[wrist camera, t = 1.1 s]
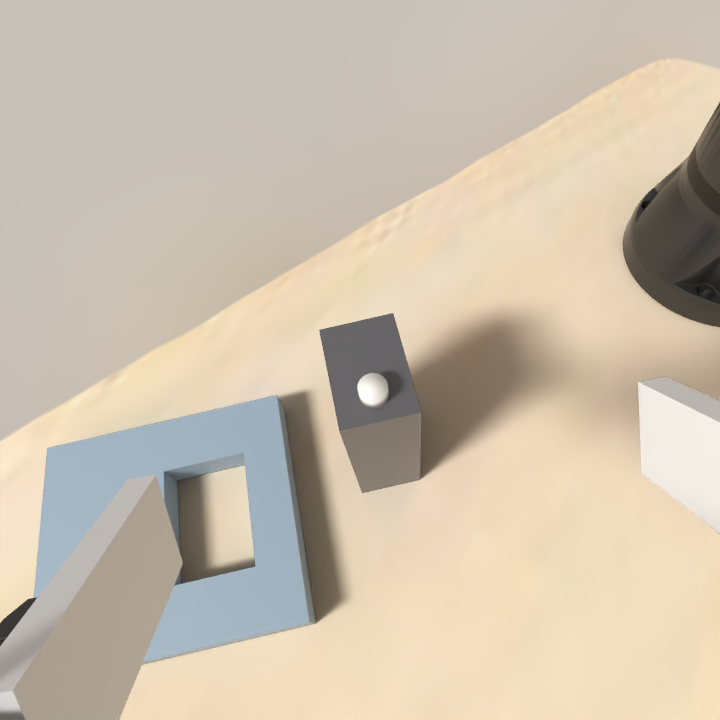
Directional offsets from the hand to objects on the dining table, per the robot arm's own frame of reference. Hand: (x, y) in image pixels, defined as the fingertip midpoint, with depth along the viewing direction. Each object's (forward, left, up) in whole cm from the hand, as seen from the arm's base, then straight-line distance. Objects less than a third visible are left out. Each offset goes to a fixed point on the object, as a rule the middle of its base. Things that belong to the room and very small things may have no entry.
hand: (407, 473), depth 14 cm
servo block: (0, -9, -25) cm, 26 cm away
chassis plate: (+16, -6, -25) cm, 30 cm away
